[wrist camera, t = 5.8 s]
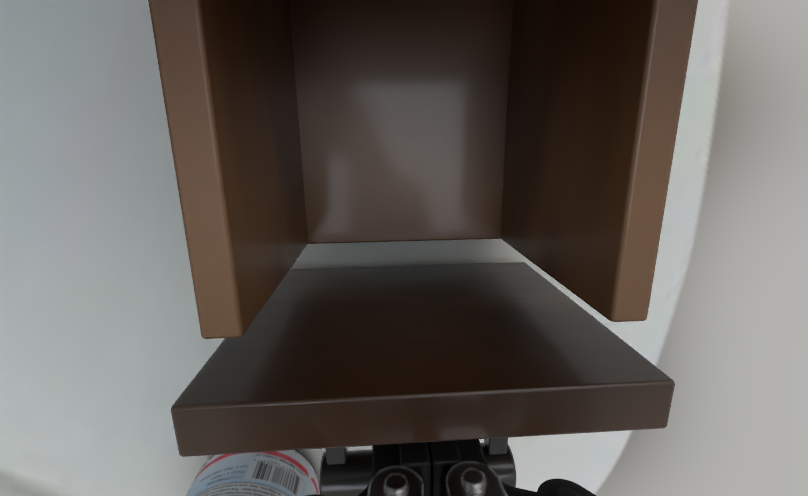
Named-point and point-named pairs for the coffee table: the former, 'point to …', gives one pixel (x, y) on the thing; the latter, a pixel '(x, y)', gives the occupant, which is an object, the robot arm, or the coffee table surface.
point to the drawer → (419, 217)
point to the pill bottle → (256, 475)
